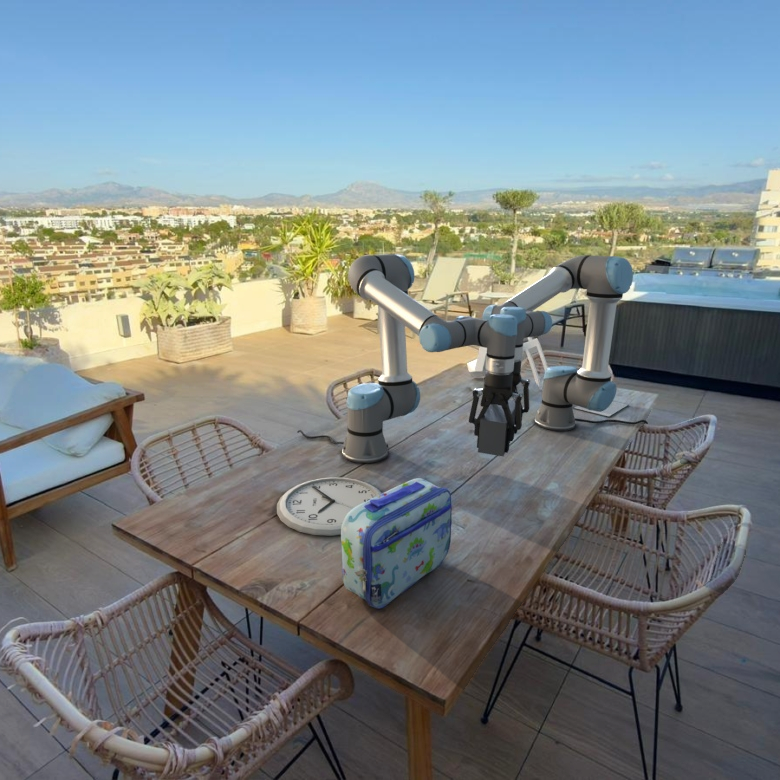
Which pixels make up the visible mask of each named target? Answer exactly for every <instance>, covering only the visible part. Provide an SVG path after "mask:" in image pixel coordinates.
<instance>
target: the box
mask: <svg viewBox="0 0 780 780" xmlns="http://www.w3.org/2000/svg"><path fill="white" fill-rule="evenodd" d="M508 403H509V408H510V411H511V414H512V418H513V421H514V424H515V401H514V400H513V399H509V400H508ZM508 428H509V426H508V421H507V420H506V417H505V414H504V410H503V409H502V406H501V405H497V404H491V405H490V406H489V408H488V409H487V411H486V412H485V414H484V416H483V417H482V418H481V419H480V430H479V443H478V448H477V453H480V454H486V455H492V456H498V457H504V456H505V454H506V453H505V444H506V433H507V429H508ZM511 442H512V441H510V443H511Z"/></svg>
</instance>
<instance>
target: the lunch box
mask: <svg viewBox="0 0 780 780" xmlns="http://www.w3.org/2000/svg"><path fill="white" fill-rule="evenodd" d="M451 539H452V494H451V491H450V490H449V488H446V487H439V486H437V485H435V484H434V483H432V482H430V481H428V480H426V479H424V478H421V477H416V478H413V479H410V480H408V481H405V482H403V483H402V484H398V485H397V486H395V487H392V488H390V489H389V490H386V491H384V492H382V494H380V495H378V496H376V497H374V498H372V499H370V500H368V501H366V502H364V503H362V504H360V505H358V506H356V507H354V508H353V509H351V510H350V511H349V512H348V514H347V515H346V517H345V518H344V520H343V523H342V528H341V535H340V546H341V569H342V570H341V571H342V582H343V585H344V588H345V589H346V590H347V591H349V592H351V593H353V594H355V595H356V596H358V597H359V598H361V599H362V600H364V601H365V602H366V603H367V605H368V606H370V607H372V608H374V609H378V610H379V609H380V610H381V609H383V608H384V607H387V605H389V604H390V603H391V602H392V601H393V600H395V599H396V598H397V597H399V596H400V595H402V594H403V593H404V592H405V591H407V590H408V589H409V588H411V587H412V586H413V585H415V584H416V583H418V581H419V580H420V579H421V578H423V577H425V576H427V575H428V574H429V573H431V572H432V571H434V570H435V569H437V568H438V567H439V566H441V564H442V563H443V562H444V561H445V559H446V557H447V556H448V554H449V550H450V547H451V541H452V540H451Z"/></svg>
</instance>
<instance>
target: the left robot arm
mask: <svg viewBox="0 0 780 780" xmlns="http://www.w3.org/2000/svg"><path fill="white" fill-rule="evenodd" d="M347 274H348V276H347V277H348V279H347V280H348V283H349V286H350V288H351V289H352V290H353V292H354V293H356V294H357V295H358V296H359V297H360V298H362V299H363V300H365V301H371V302H372V303H374V304H375V305H377V309H378V310H377V311H378V327H379V329H378V330H379V342H380V343H379V344H380V359H381V361H380V362H381V375H379V376H378V378H377V381H378V383H376V382H368V383H366V382H363V383H360V384H357V385H354V386H353V387H351V388H350V389H349V390H348V392H347V399H346V411H347V412H346V413H347V419H346V420H347V422H346V424H347V432H346V436H345V439H344V441H334V440H333V437H331V436H329V435H323V434H322V435H312V436H311V435H307V434H305V433H304V431H303V430H302V429H299V430H297V431H296V433H301V435H302V436H303V437H304V438H305V439H320V438H327V439H329V440H330V442H331V444H333V445H342V448H341V455H342V457H343V458H344V459H345V460H346V461H349V462H352V463H355V464H373V463H377V462H378V463H379V462H381V461H383V460H385V459H386V458H387V457H388V455H389V444H388V442H387V441H386V439H385V436H384V432H383V431H384V428H383V427H384V426H383V425H384V422H386V421H389V420H392V419H395V418H399V417H404V416H407V415H409V414H411V413H413V412H414V411H416V409H418V407H419V405H420V401H421V391H420V388H419V387H418V384H417V383H416V382H415V381H414V380H413V376H412V375H411V374H410V373H409V372H408V358H407V356H408V355H407V339H406V337H407V336H406V328H407V329H409V330H410V331H411V332H412V333H414V334H415V335H416V336H418V339H419V341H418V342H419V344H420V345H421V346H422V349H423V350H424V351H425V352H427V353H442V352H445V351H450V350H455V349H459V348H464V347H469V346H477V347H485V348H487V357H486V370H487V371H486V372H485V376H484V377H485V381H484V383H483V384H484V385H483V387H482V388H477V387H475V388H474V389H473V390H472V392H471V393H472V398H473V399H472V402H471V407H470V412H469V416H468V423H470V424H473V426H474V431H473V434H474V436H475V437H477V439H476V448H477V449H478V443H479V430H480V419H481V418H482V417H483V416H484V414H485V412H486V411H487V409H488V407H489V405H490V404H497V405H501V406H502V409H503V410H504V414H505V417H506V420H507V421H508V426H509V428H508V429H507V433H506V444H505V454H508V452H509V451H510V444H511V442H513V441H514V439H515V434H514V432H515V430H517V431H520V430H521V429H522V426H523V416H522V417H521V404H522V399H523V398H524V394H523V393H518V394H516V393H513V390H512V381H513V374H512V373H511V372H513V370H514V359H515V345H516V338H517V318H516V317H514V316H512V315H504V314H495V315H491V316H490V318H489V320H483V318H478V317H474V316H473V317H472V316H470V315H467V316H466V315H465V316H464V315H460V316H457V317H456V319H454V320H448V321H447V320H444V319H443V318H441V317H440V316H438V315H437V314H436V313H434V312H433V311H431V310H430V309H429V308H427V307H425V306H424V305H423V304H421V303H420V302H418V301H417V300H416V299H415V298H413V297H412V296H410V295H409V289H411V287H412V286H413V284H414V282H415V269H414V266H413V264H412V263H411V261H410V260H409V259H408V258H407V256H404V255H403V254H397V253H389V254H387V253H385V254H365V255H361V256H359V257H357V258H356V259H355V260H354V261H353V262H352V263H351V265H350V267H349V269H348V273H347ZM483 394H484V396H485V398H486V399H487V400H486V402H485V404H484V406H483V407H482V408H481V410H480V412H479V414H478V416H477V418H476V414H477V410H478V405H479V401H480V397H482V395H483ZM511 398H512V400H514V401H515V414H516V424H514V421H513V418H512V414H511V411H510V408H509V403H508V400H511ZM510 441H511V442H510Z"/></svg>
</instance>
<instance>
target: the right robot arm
mask: <svg viewBox="0 0 780 780" xmlns="http://www.w3.org/2000/svg"><path fill="white" fill-rule="evenodd" d="M633 277H634V271H633V267H632V265H631V263H630V261H629V260H628V259H627V258H625V257H620V256H614V255H592V254H582V255H578V256H574V257H572V258H569V259H567V260H565V261H563V262H561V263H559V264H557V265H556V266H554V267H552V268H551V269H550V270H549V272H548V274H547V275H545V276H544V277H542V278H541V279H539V280H538V281H536V282H534V283H533V284H531V285H530V286H528V287H527V288H525V289H524V290H522V291H520V292H519V293H517V294H516V295H514V296H512V297H511V298H509V299H508V300H506V301H505V302H503V303H501V304H499V305H498V304H490V305H488V306H487V307H485V309H484V310H483V313H482V319H483V320H489V318H490V316H491V315H495V314H504V315H512V316H514V317H516V318H517V338H516V345H515V359H514V370H513V372H511V373H512V374H513V381H512V390H513V393H516V394H519V391H518V385H519V384H520V383H521V386H522V387H523V388H522V389H523V393H522V395H523V405H522V403H521V417H522V418H523V414H527V413H529V411H530V392H529V391H530V390H529V389H530V388H529V387H530V384H531V380H530V379H528V378H527V379H525V378H523V377H522V375H521V371H522V361H520V360H521V359H522V352H523V343H524V339H528V338H527V337H532V338H533V337H541V336H543V335H546V334H548V333H549V332H550V331H551V329H552V327H553V318H552V316H551V315H550V313H549V312H547V311H546V310H536V309H538V308H540V307H541V306H542V305H544V304H546V303H547V302H549V301H550V300H551V299H553V298H555V297H556V296H557V295H559V294H562V293H567V292H568V291H570V290H576V289H579V290H580V289H581V290H586V294H585V296H586V298H587V299H588V300H589V308H588V317H587V325H586V332H585V341H584V349H583V357H582V365H581V367H580V368H579V369H578V368H577V367H576V366H571V365H570V366H569V365H557V366H556V365H555V366H550V367H549V366H548V368H547V369H546V371H545V370H544V375H543V378H542V379H543V381H542V382H543V383H542V390H541V391H542V394H541V402H540V405H539V407H538V409H537V410H536V413H535V416H534V424H535V425H536V426H537V427H539V428H542V429H544V430H549V431H556V432H567V431H572V430H574V429H575V428H576V422H582V423H588V424H596V425H597V424H605V423H619V424H625V425H638V424H642V423H644V424H645V425H649V422H648V421H647V420H646V419H640V420H637V421H626V420H621V419H602V420H589V419H585V418H584V419H582V418H577V417H576V416H575V413H574V407H573V406H575V407H576V406H580V407H583V408H586V409H588V410H593V411H597V412H601V411H604V410H605V409H607V408H608V407H609V406H610V404H611V403H612V401H614V400H615V398H616V394H617V389H618V388H617V386H616V385H617V384H616V383H615V382H614V381H612V373H611V372H610V371H609V362H610V355H611V347H612V342H613V341H612V340H613V334H614V326H615V318H616V312H617V305H618V302H619V301H620V300H622V299H623V297H624V294H626V293H628V292H629V290H630V289H631V287H632V285H633V280H634V278H633ZM483 377H484V378H483V380H484V381H483V382H485V376H483ZM486 400H487V399H486V398H485V396H484V394H483V393H482V394H481V400H480V407H482V408H483V406H484V404H485V402H486ZM490 405H491V404H490ZM490 405H489V406H490ZM488 408H489V407H488ZM575 417H576V418H575ZM515 424H516V414H515ZM517 433H518V430H515V432H514V435H516V434H517Z"/></svg>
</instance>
